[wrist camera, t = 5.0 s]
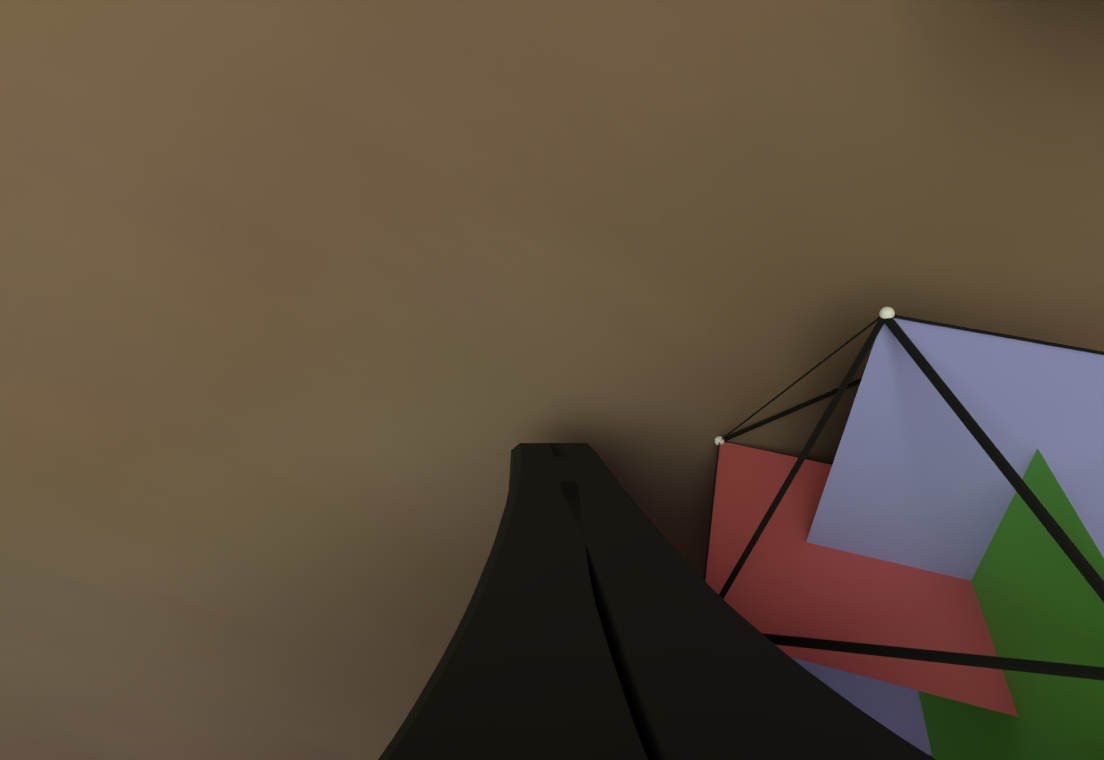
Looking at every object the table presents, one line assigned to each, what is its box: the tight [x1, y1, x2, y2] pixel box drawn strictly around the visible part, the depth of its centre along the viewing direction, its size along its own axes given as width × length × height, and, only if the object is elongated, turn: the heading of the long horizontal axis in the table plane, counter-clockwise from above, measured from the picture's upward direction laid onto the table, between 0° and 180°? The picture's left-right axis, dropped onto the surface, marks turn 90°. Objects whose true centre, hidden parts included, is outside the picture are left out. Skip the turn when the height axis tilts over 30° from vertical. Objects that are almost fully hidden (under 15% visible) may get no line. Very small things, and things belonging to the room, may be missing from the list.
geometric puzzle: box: [704, 307, 1104, 760], centre depth 9 cm, size 7×7×8 cm
